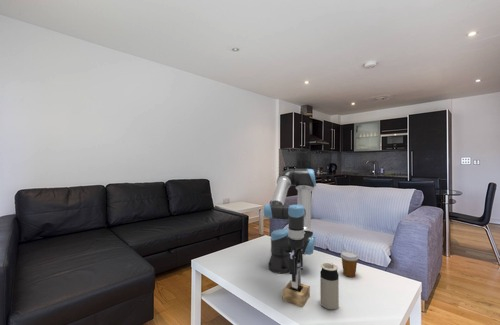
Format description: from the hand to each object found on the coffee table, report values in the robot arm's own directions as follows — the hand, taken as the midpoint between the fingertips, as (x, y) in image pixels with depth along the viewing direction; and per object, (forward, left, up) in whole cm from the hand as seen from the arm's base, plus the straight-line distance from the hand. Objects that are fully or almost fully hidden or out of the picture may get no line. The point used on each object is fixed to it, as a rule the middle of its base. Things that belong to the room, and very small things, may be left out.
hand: (296, 285), depth 112 cm
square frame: (0, 0, -6) cm, 6 cm away
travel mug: (+15, +3, -6) cm, 17 cm away
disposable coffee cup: (+18, +38, -7) cm, 43 cm away
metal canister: (0, 0, -3) cm, 3 cm away
